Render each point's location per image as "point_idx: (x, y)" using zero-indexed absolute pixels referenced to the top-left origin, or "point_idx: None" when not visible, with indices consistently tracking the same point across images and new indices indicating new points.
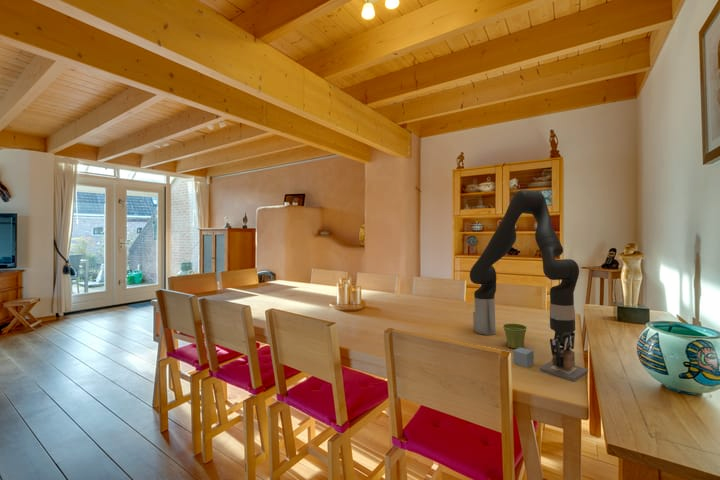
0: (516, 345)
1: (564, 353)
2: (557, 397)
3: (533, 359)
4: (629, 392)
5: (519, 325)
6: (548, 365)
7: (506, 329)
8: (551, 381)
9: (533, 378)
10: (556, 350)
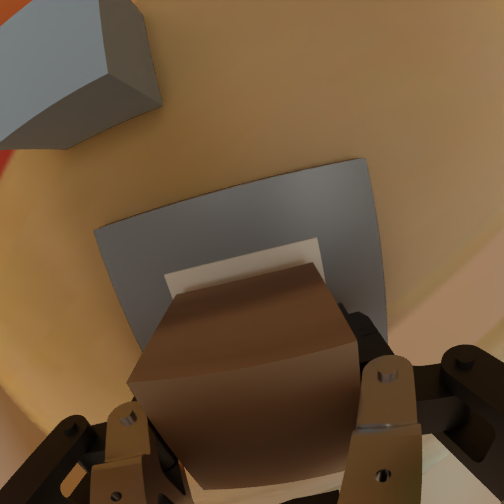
0: None
1: (217, 466)
2: (38, 418)
3: (144, 99)
4: (303, 495)
5: None
6: (193, 229)
7: None
8: (77, 357)
9: (18, 289)
10: (124, 457)
